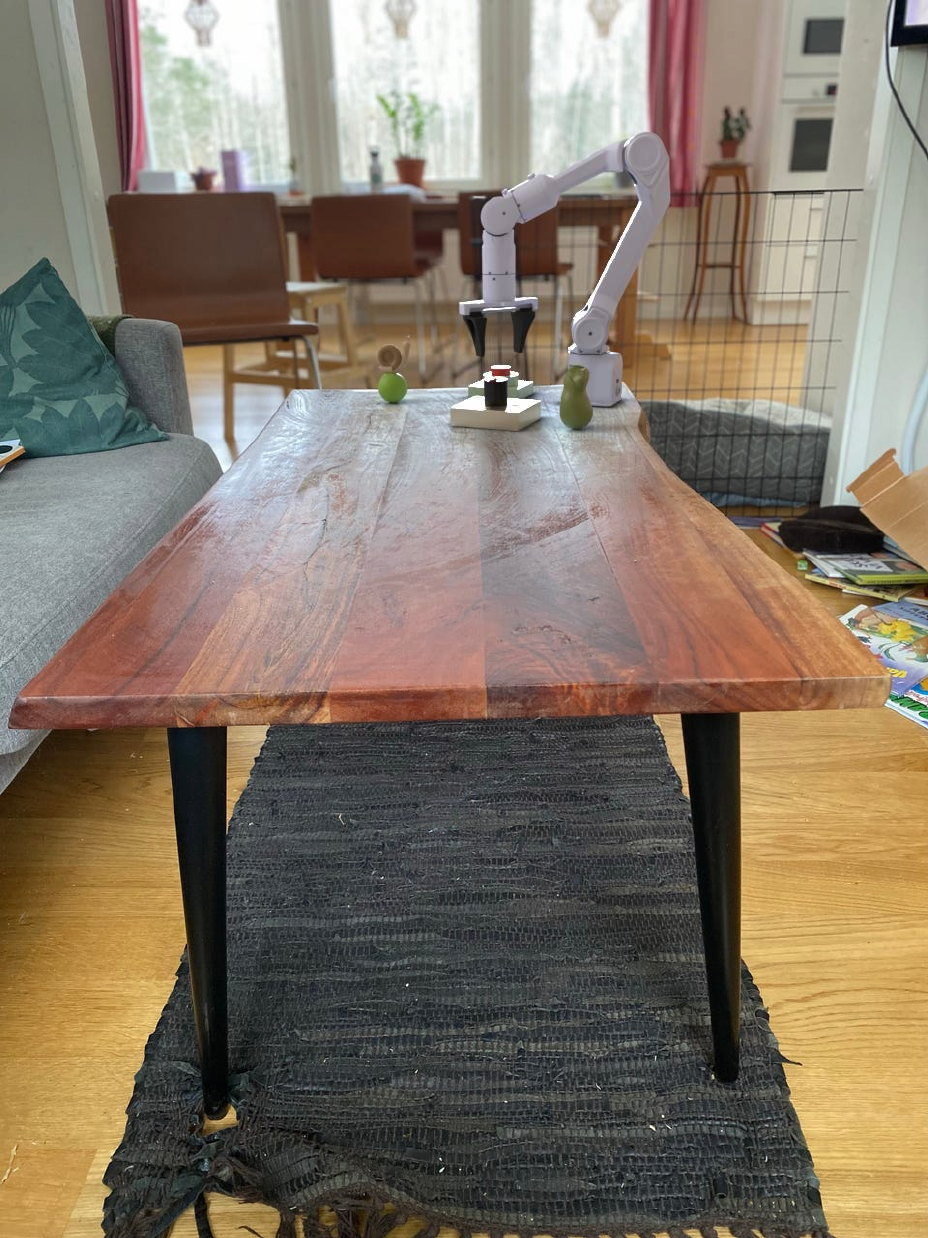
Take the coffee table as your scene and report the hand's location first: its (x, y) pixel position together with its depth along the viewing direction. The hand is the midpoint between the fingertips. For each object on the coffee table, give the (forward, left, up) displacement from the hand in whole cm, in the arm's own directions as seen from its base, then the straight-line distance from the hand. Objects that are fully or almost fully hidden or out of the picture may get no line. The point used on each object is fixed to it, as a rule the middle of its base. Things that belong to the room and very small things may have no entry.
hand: (499, 354), depth 168 cm
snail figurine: (+18, +7, -9) cm, 21 cm away
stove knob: (-6, +15, -5) cm, 17 cm away
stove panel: (-6, +16, -8) cm, 19 cm away
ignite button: (+2, -6, -5) cm, 8 cm away
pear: (-20, +16, -9) cm, 27 cm away
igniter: (+2, -5, -8) cm, 10 cm away
